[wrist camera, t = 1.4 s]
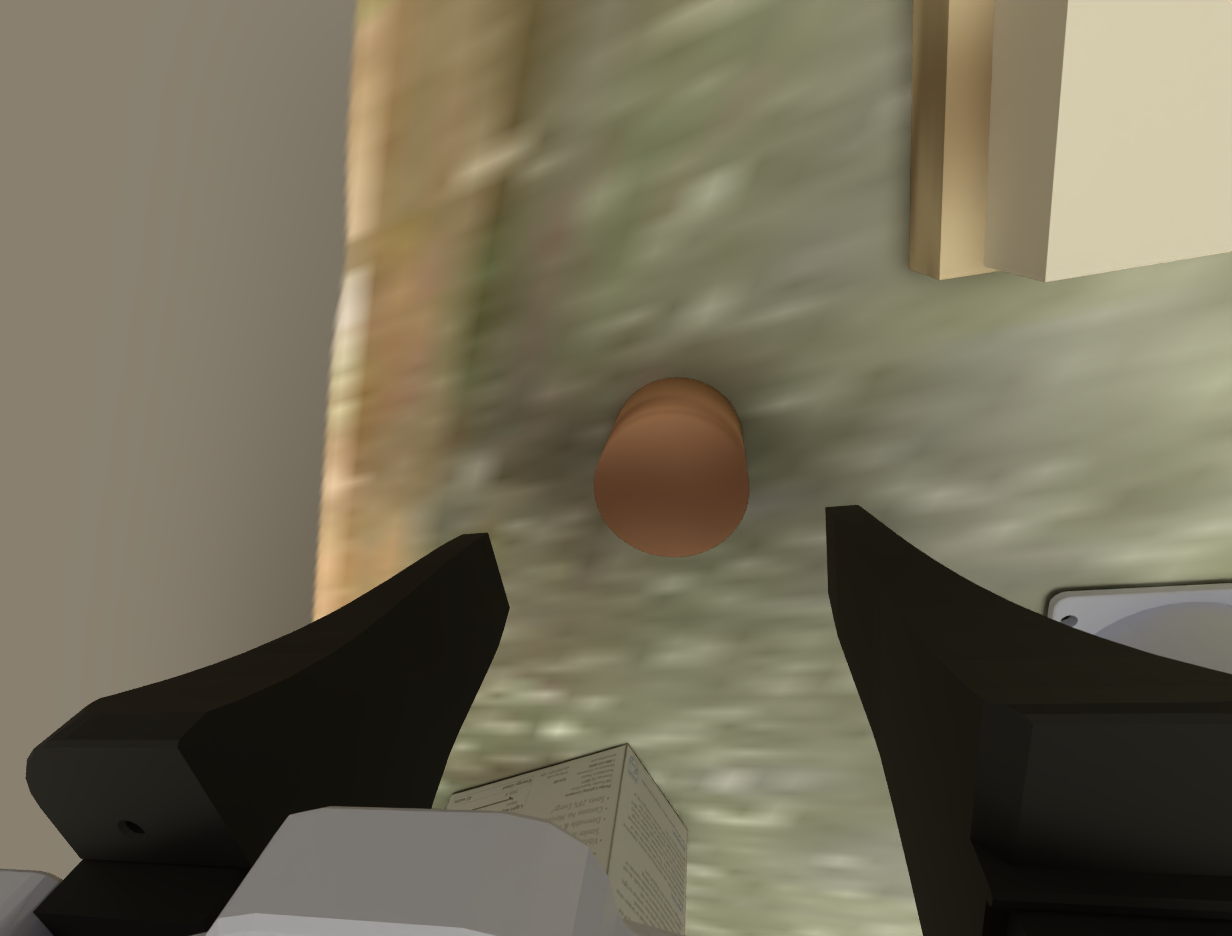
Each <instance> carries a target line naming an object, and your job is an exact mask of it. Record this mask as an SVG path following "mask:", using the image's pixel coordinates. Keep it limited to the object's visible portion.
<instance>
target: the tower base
mask: <svg viewBox="0 0 1232 936" xmlns="http://www.w3.org/2000/svg"><path fill="white" fill-rule="evenodd" d="M994 9H995V0H913V36H912V103H911V169H910V236H909V269H911V270H914V271H917V272H919V273H922V274H925V275H927V276H930V277H933V278H935V279H938V280H943V279H950V278H956V277H963V276H969V275H976V274H982V273H989V272H995V271H1000V270H996V269H993V268H989V267H985V266H984V246H985V222H986V199H987V175H988V151H989V128H990V104H991V80H992V57H993V33H994Z"/></svg>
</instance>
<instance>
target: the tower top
mask: <svg viewBox="0 0 1232 936" xmlns="http://www.w3.org/2000/svg"><path fill="white" fill-rule="evenodd" d="M1231 251H1232V0H995V9H994V33H993V57H992V80H991V104H990V128H989V151H988V175H987V199H986V222H985V246H984V266H985V267H989V268H993V269H996V270H1000V271H1004V272H1008V273H1012V274H1016V275H1019V276H1023V277H1027V278H1031V279H1035V280H1039V281H1042V282H1050V281H1056V280H1062V279H1068V278H1074V277H1080V276H1086V275H1092V274H1098V273H1104V272H1110V271H1116V270H1122V269H1128V268H1134V267H1140V266H1146V265H1152V264H1158V263H1164V262H1170V261H1177V260H1183V259H1189V258H1195V257H1201V256H1207V255H1213V254H1219V253H1225V252H1231Z"/></svg>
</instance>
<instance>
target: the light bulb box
mask: <svg viewBox="0 0 1232 936" xmlns="http://www.w3.org/2000/svg"><path fill="white" fill-rule="evenodd" d="M446 809H453V810H489V811H509V812H514V813H519V814H524V815H529V816H533V817H538V818H543V819H548V820H550V821H552V822H553V823H555V824H557V825H558V826H560V827H562V828H563V829H565V830H567V831H568V832H570V833H571V834H573V835H575V836H576V837H578V838H580V839H581V840H583V841H584V842H585V843H586V844H587V846H588V847H589V848H590V850H591V851H592V853H593V854H594V856H595V857H596V859H597V860H598V862H599V863H600V865H601V866H602V868H603V869H604V871H605V872H606V874H607V875H608V877H609V879H610V883H611V887H612V891H613V894H614V898H615V902H616V905H617V909H618V912H619V914H620V916H621V918H622V919H626V920H630V921H634V922H638V923H641V924H645V925H648V926H652V927H656V928H659V929H663V930H667V931H670V932H674V933H677V934H681V935H685V913H686V875H687V830H686V828H685V826H684V825H683V823H682V822H681V820H680V819H679V817H678V816H677V814H676V813H675V811H674V810H673V809H672V807H671V806H670V804H669V803H668V801H667V800H666V798H665V797H664V796H663V794H662V793H661V791H660V790H659V788H658V787H657V785H656V784H655V783H654V781H653V780H652V778H651V777H650V775H649V774H648V772H647V771H646V770H645V768H644V767H643V765H642V764H641V762H640V761H639V759H638V758H637V757H636V755H635V754H634V752H633V751H632V749H631V748H630V747H629V745H628V744H625V745H624V746H620V747H617V748H614V749H610V750H607V751H603V752H600V753H596V754H593V755H589V756H586V757H582V758H579V759H575V760H572V761H568V762H565V763H562V764H558V765H555V766H551V767H548V768H544V769H540V770H537V771H534V772H530V773H526V774H523V775H520V776H516V777H513V778H509V779H506V780H502V781H499V782H495V783H492V784H488V785H485V786H482V787H478V788H475V789H471V790H468V791H464V792H460V793H457V794H454V795H452V796H451V798H450V801H449V803H448V806H447V808H446Z"/></svg>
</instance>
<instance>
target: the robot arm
mask: <svg viewBox="0 0 1232 936" xmlns="http://www.w3.org/2000/svg"><path fill="white" fill-rule="evenodd" d="M825 509H826V539H827V569H828V594H829V598H830V603H831V608H832V613H833V617H834V622H835V626H836V630H837V635H838V638H839V641H840V644H841V646H842V649H843V652H844V655H845V658H846V660H847V663H848V666H849V669H850V671H851V674H852V677H853V680H854V682H855V685H856V688H857V691H858V693H859V696H860V699H861V701H862V704H863V707H864V710H865V712H866V715H867V718H868V721H869V723H870V726H871V729H872V732H873V734H874V738H875V741H876V744H877V747H878V750H879V754H880V757H881V761H882V765H883V769H884V773H885V777H886V781H887V785H888V789H889V793H890V796H891V800H892V804H893V808H894V813H895V817H896V821H897V825H898V829H899V833H900V838H901V842H902V846H903V850H904V854H905V859H906V863H907V867H908V871H909V876H910V880H911V884H912V889H913V893H914V898H915V902H916V906H917V911H918V915H919V920H920V924H921V928H922V933H923V936H1232V583H1222V584H1202V585H1183V586H1163V587H1144V588H1124V589H1105V590H1085V591H1067V592H1062V593H1059V594H1057V595H1055V596H1054V597H1053V598H1052V599H1051V601H1050V603H1049V608H1048V616H1047V617H1046V616H1043V615H1041V614H1038V613H1036V612H1033V611H1031V610H1029V609H1026V608H1024V607H1022V606H1020V605H1017V604H1015V603H1013V602H1011V601H1008V600H1006V599H1004V598H1002V597H1000V596H998V595H996V594H994V593H992V592H990V591H988V590H986V589H984V588H982V587H980V586H978V585H976V584H975V583H973V582H971V581H969V580H967V579H965V578H964V577H962V576H960V575H958V574H957V573H955V572H953V571H952V570H950V569H949V568H947V567H945V566H944V565H942V564H940V563H939V562H937V561H935V560H934V559H932V558H931V557H929V556H928V555H926V554H925V553H923V552H922V551H920V550H919V549H917V548H916V547H914V546H913V545H911V544H910V543H909V542H907V541H906V540H904V539H903V538H902V537H900V536H899V535H897V534H896V533H895V532H893V531H892V530H891V529H889V528H888V527H887V526H885V525H884V524H883V523H881V522H880V521H879V520H877V519H876V518H875V517H874V516H872V515H871V514H870V513H868V512H867V511H866V510H864V509H863V508H862V507H860V506H859V505H849V506H836V507H825ZM509 608H510V607H509V604H508V600H507V597H506V593H505V590H504V586H503V583H502V579H501V576H500V573H499V569H498V566H497V562H496V559H495V555H494V552H493V548H492V545H491V541H490V538H489V534H488V533H476V534H463V535H461V536H459V537H456V538H454V539H453V540H451V541H449V542H447V543H445V544H444V545H442V546H440V547H439V548H437V549H436V550H434V551H432V552H431V553H429V554H428V555H426V556H424V557H423V558H421V559H420V560H418V561H417V562H415V563H414V564H412V565H410V566H409V567H407V568H406V569H404V570H403V571H401V572H400V573H398V574H396V575H395V576H393V577H392V578H390V579H389V580H387V581H385V582H384V583H382V584H380V585H379V586H377V587H375V588H374V589H372V590H370V591H369V592H367V593H365V594H364V595H362V596H360V597H359V598H357V599H355V600H354V601H352V602H350V603H348V604H347V605H345V606H343V607H341V608H340V609H338V610H336V611H334V612H332V613H330V614H328V615H326V616H324V617H322V618H320V619H318V620H316V621H314V622H312V623H310V624H308V625H306V626H304V627H302V628H301V629H298V630H296V631H294V632H292V633H290V634H287V635H285V636H282V637H280V638H278V639H275V640H273V641H271V642H269V643H266V644H264V645H262V646H259V647H257V648H254V649H252V650H250V651H247V652H245V653H242V654H240V655H237V656H234V657H232V658H229V659H226V660H224V661H221V662H218V663H216V664H213V665H210V666H207V667H204V668H201V669H198V670H195V671H192V672H189V673H186V674H183V675H180V676H177V677H174V678H171V679H168V680H164V681H161V682H157V683H153V684H150V685H147V686H143V687H139V688H136V689H132V690H129V691H125V692H122V693H118V694H115V695H111V696H107V697H103V698H100V699H98V700H96V701H94V702H92V703H91V704H89V705H88V706H86V707H85V708H83V709H82V710H81V711H80V712H79V713H77V714H76V715H75V716H74V717H72V718H71V719H70V720H69V721H67V722H66V723H65V724H64V725H63V726H61V727H60V728H59V729H58V730H56V731H55V732H54V733H53V734H51V735H50V736H49V737H48V738H47V739H46V740H44V741H43V742H42V743H40V744H39V745H38V746H37V747H36V748H34V749H33V751H32V752H31V754H30V756H29V757H28V759H27V767H26V780H27V783H28V786H29V789H30V792H31V794H32V795H33V797H34V799H35V800H36V802H37V803H38V805H39V806H40V808H41V809H42V810H43V812H44V813H45V814H46V815H47V817H48V818H49V819H50V821H51V822H52V823H53V824H54V825H55V827H56V828H57V829H58V831H59V832H60V833H61V834H62V836H63V837H64V838H65V839H66V841H67V842H68V843H69V844H70V846H71V847H72V848H73V850H74V851H75V852H76V853H77V855H78V856H79V857H80V858H81V859H83V860H82V861H81V862H80V863H79V864H78V865H77V866H76V867H75V868H74V869H73V870H72V871H71V872H70V874H69V875H68V876H67V877H66V878H65V879H64V880H62V879H60V878H59V877H57V876H55V875H53V874H51V873H47V872H43V871H33V870H16V869H0V936H685V935H681V934H677V933H674V932H670V931H667V930H663V929H659V928H656V927H652V926H648V925H645V924H641V923H638V922H634V921H630V920H626V919H622V918H621V916H620V914H619V912H618V909H617V905H616V902H615V898H614V894H613V891H612V887H611V883H610V879H609V877H608V875H607V874H606V872H605V871H604V869H603V868H602V866H601V865H600V863H599V862H598V860H597V859H596V857H595V856H594V854H593V853H592V851H591V850H590V848H589V847H588V846H587V844H586V843H585V842H584V841H583V840H581V839H580V838H578V837H576V836H575V835H573V834H571V833H570V832H568V831H567V830H565V829H563V828H562V827H560V826H558V825H557V824H555V823H553V822H552V821H550V820H548V819H543V818H538V817H533V816H529V815H524V814H519V813H514V812H509V811H489V810H453V809H431V808H432V804H433V801H434V798H435V795H436V792H437V789H438V786H439V783H440V781H441V778H442V775H443V772H444V769H445V766H446V763H447V760H448V757H449V754H450V752H451V750H452V747H453V745H454V742H455V740H456V738H457V735H458V733H459V731H460V729H461V726H462V724H463V722H464V720H465V718H466V716H467V714H468V712H469V709H470V707H471V705H472V703H473V701H474V699H475V697H476V695H477V692H478V690H479V688H480V686H481V684H482V682H483V680H484V677H485V675H486V673H487V671H488V669H489V667H490V664H491V662H492V660H493V658H494V655H495V653H496V651H497V649H498V646H499V643H500V640H501V637H502V633H503V630H504V627H505V623H506V619H507V616H508V612H509ZM1068 615H1071V616H1070V617H1069V618H1068V619H1066V620H1061V619H1062V618H1064V617H1065V616H1068Z"/></svg>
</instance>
